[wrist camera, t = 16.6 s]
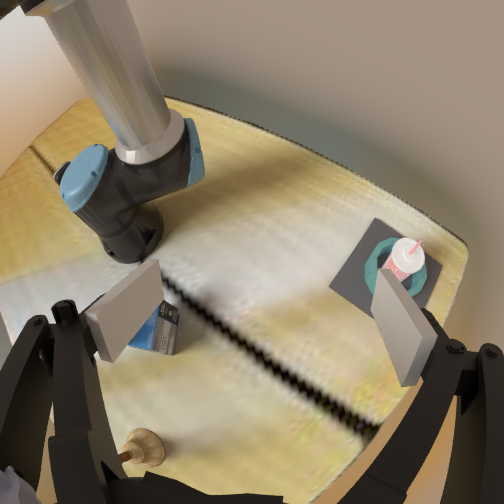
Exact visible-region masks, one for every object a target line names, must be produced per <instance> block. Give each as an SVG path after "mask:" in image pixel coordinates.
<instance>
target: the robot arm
mask: <svg viewBox="0 0 504 504" xmlns="http://www.w3.org/2000/svg"><path fill="white" fill-rule="evenodd" d="M19 5H20V6H21V8H22V10H23V12H24V14H25V15H26V16H41V17H44V19H45V20H46V22H47V24H48V26H49V28H50V30H51V31H52V33H53V35H54V37H55V39H56V40H57V42H58V44H59V46H60V47H61V49H62V51H63V52H64V54H65V56H66V58H67V59H68V61H69V63H70V64H71V66H72V68H73V69H74V71H75V73H76V74H77V76H78V77H79V79H80V81H81V82H82V84H83V86H84V87H85V89H86V91H87V92H88V94H89V95H90V97H91V98H92V100H93V102H94V103H95V105H96V106H97V108H98V109H99V111H100V112H101V114H102V116H103V117H104V119H105V120H106V122H107V123H108V125H109V126H110V128H111V129H112V131H113V132H114V134H115V135H116V137H117V139H116V143H115V148H113V149H111V150H109V151H108V148H107V147H105V146H104V145H102V144H94V145H91V146H89V147H87V148H86V149H84V150H83V151H82V152H80V153H79V154H78V155H77V156H76V157H75V158H74V159H73V161H72V162H71V163H70V165H69V166H68V167H67V169H66V171H65V173H64V175H63V177H62V180H61V183H60V195H61V198H62V199H63V201H64V202H65V203H66V204H67V206H68V207H69V209H70V210H71V211H72V212H74V213H75V214H76V215H77V216H78V217H79V218H80V219H81V220H82V221H83V222H85V223H86V224H87V225H88V226H89V227H90V228H91V229H92V230H93V231H94V232H95V233H97V234H98V236H99V238H100V241H101V243H102V245H103V247H104V249H105V251H106V253H107V254H108V255H109V256H110V257H112V258H113V259H114V260H115V261H117V262H119V263H124V264H130V263H134V262H137V261H140V260H142V259H143V258H145V257H146V256H148V255H149V254H150V253H151V252H152V251H153V250H154V249H155V247H156V246H157V244H158V243H159V241H160V239H161V236H162V233H163V219H162V216H161V214H160V213H159V211H158V210H157V208H156V207H155V206H154V205H153V204H152V203H150V202H149V201H151V200H154V199H157V198H159V197H162V196H165V195H168V194H170V193H173V192H176V191H179V190H182V189H186V188H188V187H189V186H190V185H193V184H195V183H198V182H200V181H201V180H202V179H203V177H204V174H205V167H204V160H203V155H202V151H201V146H200V141H199V137H198V133H197V129H196V126H195V123H194V121H193V119H191V118H183V117H182V116H181V114H180V113H179V112H177V111H176V110H173V109H170V108H168V107H167V104H166V102H165V99H164V97H163V94H162V92H161V89H160V87H159V84H158V82H157V79H156V77H155V74H154V71H153V69H152V66H151V64H150V61H149V59H148V56H147V53H146V51H145V48H144V46H143V43H142V41H141V38H140V35H139V33H138V30H137V27H136V25H135V22H134V19H133V17H132V14H131V11H130V9H129V6H128V3H127V0H0V20H1V19H2V18H4V17H5V16H6V15H7V14H8V13H10V12H11V11H12V10H14V9H15V8H16V7H17V6H19ZM163 300H164V293H163V287H162V280H161V274H160V267H159V260H158V259H147V260H146V261H145V262H144V263H142V264H141V265H140V266H139V267H137V268H136V269H135V270H134V271H132V272H131V273H130V274H129V275H128V276H126V277H125V278H124V279H123V280H121V281H120V282H119V283H118V284H117V285H115V286H114V287H113V288H112V289H111V290H110V291H108V292H107V293H105V294H103V295H101V296H100V297H98V298H97V299H96V300H95V301H94V302H92V303H91V305H89V306H88V307H87V308H86V309H84V310H83V311H82V312H81V313H80V314H78V311H77V308H76V305H75V302H74V301H73V300H62V301H59V302H57V303H55V304H54V305H53V306H52V308H51V310H52V313H53V316H54V319H55V321H56V324H49V322H48V320H47V317H46V316H45V315H35V316H33V317H32V318H31V319H29V320H28V321H27V323H26V324H25V326H24V328H23V330H22V331H21V333H20V335H19V336H18V338H17V340H16V342H15V344H14V345H13V347H12V349H11V351H10V353H9V355H8V357H7V359H6V361H5V363H4V365H3V367H2V369H1V371H0V504H42V503H41V502H40V500H39V499H37V496H36V491H37V487H38V483H39V479H40V472H41V463H42V456H43V449H44V442H45V436H46V431H47V425H48V420H49V416H50V411H51V407H52V402H53V411H54V426H55V436H52V437H49V439H48V449H49V458H50V465H51V472H52V477H53V483H54V488H55V493H56V497H57V501H58V503H55V504H288V503H284V502H283V496H274V495H260V494H249V493H245V494H231V495H208V494H205V493H203V492H200V491H198V490H196V489H194V488H192V487H190V486H188V485H186V484H184V483H182V482H180V481H178V480H175V479H171V478H168V477H164V476H161V475H157V474H154V473H151V472H148V471H146V473H145V475H144V477H129V478H128V476H127V475H126V473H125V471H124V469H123V467H122V464H121V462H120V459H119V456H118V453H117V450H116V446H115V443H114V440H113V437H112V433H111V430H110V426H109V422H108V418H107V414H106V410H105V406H104V402H103V397H102V392H101V387H100V382H99V377H98V371H97V365H96V360H95V357H94V354H95V353H96V351H98V353H99V356H100V358H101V360H104V361H107V362H111V363H113V362H114V361H115V360H116V359H117V357H118V356H119V355H120V353H121V352H122V351H123V350H124V348H125V347H126V346H127V345H128V343H129V342H130V341H131V339H132V338H133V337H134V336H135V334H136V333H137V332H138V331H139V329H140V328H141V327H142V326H143V324H144V323H145V322H146V321H147V319H148V318H149V317H150V316H151V315H152V313H153V312H154V311H155V310H156V308H157V307H158V306H159V305H160V304H161V302H162V301H163ZM370 310H371V312H372V314H373V317H374V319H375V321H376V323H377V326H378V328H379V331H380V333H381V335H382V338H383V340H384V343H385V345H386V348H387V350H388V353H389V355H390V358H391V360H392V363H393V366H394V368H395V371H396V374H397V376H398V379H399V382H400V385H401V387H406V386H414V385H416V384H417V382H418V380H419V378H420V376H421V377H422V379H423V381H424V382H423V384H422V386H421V388H420V390H419V392H418V393H417V395H416V397H415V399H414V401H413V403H412V404H411V406H410V408H409V409H408V411H407V413H406V414H405V416H404V418H403V419H402V421H401V423H400V424H399V426H398V427H397V429H396V430H395V432H394V433H393V435H392V436H391V438H390V439H389V441H388V442H387V444H386V445H385V446H384V448H383V449H382V451H381V452H380V453H379V455H378V456H377V457H376V459H375V460H374V462H373V463H372V464H371V465H370V466H369V468H368V469H367V470H366V471H365V473H364V474H363V475H362V476H361V477H360V479H359V480H358V481H357V482H356V483H355V485H354V486H353V487H352V488H351V489H350V490H349V491H348V492H347V494H346V495H345V496H344V497H343V498H342V499H341V500H340V501H339V502H338V503H337V504H403V503H404V501H405V499H406V497H407V494H406V492H407V490H408V488H409V487H410V485H411V483H412V482H413V480H414V478H415V477H416V475H417V474H418V472H419V470H420V468H421V467H422V465H423V463H424V461H425V459H426V457H427V456H428V454H429V452H430V450H431V448H432V446H433V444H434V442H435V440H436V437H437V435H438V433H439V431H440V429H441V426H442V424H443V422H444V419H445V417H446V415H447V412H448V409H449V407H450V404H451V402H452V399H453V396H454V395H456V396H457V407H456V420H455V430H454V439H453V445H452V452H451V458H450V463H449V468H448V473H447V478H446V482H445V486H444V490H443V494H442V498H441V501H440V504H504V355H503V353H502V350H500V348H499V347H498V346H496V345H494V344H491V343H486V344H483V345H482V346H481V348H480V350H479V352H471V351H467V349H466V347H465V345H463V344H462V343H461V342H460V341H458V340H455V339H449V337H448V336H447V335H446V333H445V332H444V330H443V329H442V327H441V326H440V325H439V323H438V322H437V320H436V319H435V317H434V316H433V315H432V313H430V312H429V311H428V310H426V309H425V308H419V307H418V306H417V304H416V303H415V301H414V300H413V299H412V297H411V296H410V295H409V293H408V292H407V290H406V289H405V288H404V286H403V285H402V284H401V282H400V281H399V280H398V278H397V277H396V276H395V274H394V273H393V272H392V271H391V269H382V268H378V273H377V279H376V285H375V290H374V295H373V300H372V305H371V309H370ZM40 357H41V358H40Z"/></svg>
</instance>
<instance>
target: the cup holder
mask: <svg viewBox="0 0 504 504" xmlns="http://www.w3.org/2000/svg"><path fill="white" fill-rule="evenodd" d="M401 238H404V237H403V236H401V235H400V234H399V233H397V232H396V231H394V230H393V229H391V228H390V227H388V226H387V225H385V224H384V223H382V222H381V221H379V220H378V219H376V218H374V220H373V221H372V223H371V225H370V226H369V228H368V229H367V231H366V232H365V234H364V236H363V237H362V239H361V240H360V242H359V243H358V245H357V246H356V248H355V249H354V251H353V252H352V254H351V255H350V257H349V258H348V259H347V261H346V262H345V264H344V265H343V267H342V268H341V270H340V271H339V272H338V274H337V275H336V277H335V278H334V279H333V281H332V282H331V284H330V285H329V287H330V288H331V289H333V290H334V291H335V292H337V293H338V294H340V295H341V296H342V297H344V298H345V299H347V300H348V301H349V302H351V303H352V304H354V305H355V306H356V307H358V308H359V309H361V310H362V311H363V312H365V313H366V314H368V315H369V316H370V317H372V318H373V319H374V317H373V314H372V312H371V310H370V309H371V305H372V300H373V295H374V290H375V285H376V279H377V273H378V268H382V266H383V265H384V263H385V262H386V260H387V258H388V257H389V255H390V254H391V252H392V249H393V246H394V244H395V243H396V242H397V241H398V240H399V239H401ZM424 255H425V261H424V265H423V266H422V268H421V269H420V270H419V271H417V272H415V273H412V274H411V275H410V276H408V277H407V278H406V279H404V280H403V281H401V284H402V285H403V286H404V288H405V289H406V290H407V292H408V293H409V295H410V296H411V297H412V299H413V300H414V301H415V303H416V304H417V306H418V307H419V308H424V306H425V304H426V302H427V300H428V297H429V295H430V293H431V291H432V289H433V286H434V284H435V282H436V279H437V277H438V275H439V272H440V270H441V267H442V265H441V264H440V263H438V262H437V261H436V260H434V259H433V258H432V257H430V256H429V255H428V254H426V253H425V252H424Z"/></svg>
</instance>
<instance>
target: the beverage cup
mask: <svg viewBox="0 0 504 504" xmlns="http://www.w3.org/2000/svg"><path fill="white" fill-rule="evenodd" d="M422 242H423V239H422V238H421V239H420V240H419V242H418V243H417V242H416V241H415V240H413V239H410V238H401V239H399V240H398V241H397V242H396V243H395V244H394V246H393V249H392V252H391V254H390V255H389V257H388V258H387V260H386V262H385V263H384V265H383V266H382V269H391V271H392V272H393V273H394V274H395V276H396V277H397V278H398V280H399V281H400V282H401V281H403V280H404V279H406V278H407V277H408V276H410V275H411V274H412V273H415V272H417V271H419V270H420V269H421V268H422V266H423V265H424V261H425V255H424V251H423V249H422V247H421V246H420V244H421V243H422Z"/></svg>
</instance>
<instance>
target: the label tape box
mask: <svg viewBox="0 0 504 504" xmlns="http://www.w3.org/2000/svg"><path fill="white" fill-rule="evenodd" d="M179 312H180V310H178V309H177V308H175V307H174V306H172V305H171V304H169V303H168V302H166V301H165V300H163V301H162V302H161V304H160V305H159V306H158V307H157V308H156V310H155V311H154V312H153V313H152V315H151V316H150V317H149V318H148V319H147V321H146V322H145V323H144V324H143V326H142V327H141V328H140V329H139V331H138V332H137V333H136V334H135V336H134V337H133V338H132V339H131V341H130V342H129V343H128V345H129V346H131V347H135V348H139V349H143V350H147V351H151V352H155V353H160V354H166V355H173V352H174V345H175V338H176V331H177V324H178V318H179Z"/></svg>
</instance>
